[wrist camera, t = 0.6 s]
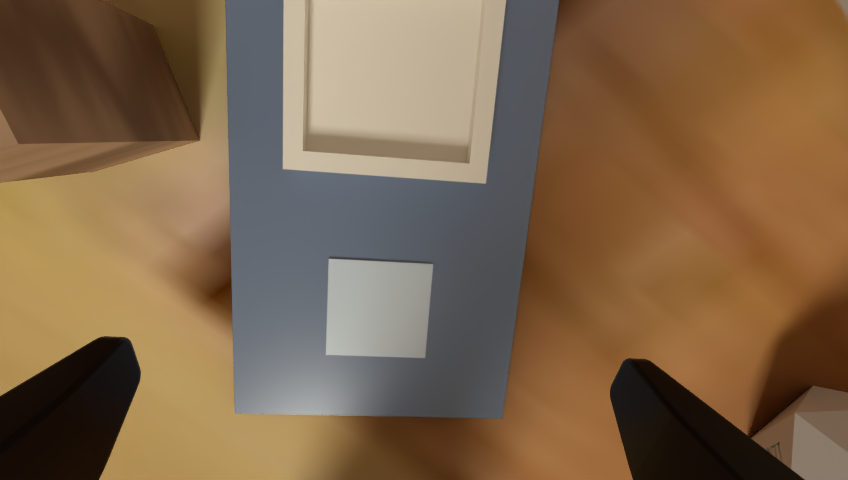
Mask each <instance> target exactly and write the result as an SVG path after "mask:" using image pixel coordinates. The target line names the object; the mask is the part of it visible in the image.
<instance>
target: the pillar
mask: <svg viewBox="0 0 848 480" xmlns="http://www.w3.org/2000/svg"><path fill="white" fill-rule="evenodd" d="M196 141H200V140H199V138H198V135H197V133H196V130H195V128H194V125H193V123H192V120H191V118H190V116H189V113H188V111H187V108H186V106H185V103H184V101H183V98H182V96H181V93H180V91H179V88H178V86H177V84H176V81H175V79H174V76H173V74H172V71H171V69H170V66H169V64H168V61H167V59H166V57H165V54H164V52H163V49H162V47H161V44H160V42H159V39H158V37H157V34H156V32H155V29H154V27H153V25H151V24H149V23H147V22H145V21H143V20H141V19H139V18H136V17H134V16H132V15H130V14H128V13H126V12H124V11H122V10H120V9H117V8H115V7H113V6H111V5H109V4H107V3H105V2H103V1H101V0H0V183H2V182H11V181H19V180H27V179H36V178H44V177H53V176H61V175H70V174H78V173H86V172H94V171H98V170H101V169H104V168H108V167H111V166H115V165H118V164H121V163H125V162H128V161H132V160H135V159H138V158H142V157H145V156H149V155H152V154H155V153H159V152H162V151H166V150H169V149H172V148H176V147H179V146H183V145H186V144H189V143H193V142H196Z"/></svg>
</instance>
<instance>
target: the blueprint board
mask: <svg viewBox="0 0 848 480" xmlns="http://www.w3.org/2000/svg"><path fill="white" fill-rule="evenodd" d="M558 5H559V0H225V8H226V52H227V96H228V139H229V183H230V226H231V270H232V313H233V357H234V400H235V413H237V414H289V415H342V416H394V417H447V418H499V419H502V418H503V410H504V403H505V396H506V388H507V381H508V373H509V366H510V359H511V351H512V344H513V337H514V329H515V322H516V314H517V307H518V300H519V292H520V285H521V278H522V270H523V263H524V256H525V248H526V241H527V233H528V226H529V219H530V211H531V204H532V197H533V189H534V182H535V175H536V167H537V160H538V152H539V145H540V138H541V130H542V123H543V116H544V108H545V101H546V93H547V86H548V79H549V71H550V64H551V57H552V49H553V42H554V35H555V27H556V20H557V12H558Z"/></svg>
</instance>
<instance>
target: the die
mask: <svg viewBox="0 0 848 480" xmlns="http://www.w3.org/2000/svg"><path fill="white" fill-rule="evenodd" d="M751 439H753V440H754V441H755V442H756V443H758V444H759V445H760V446H762V447H763V448H764V449H766V450H767V451H768V452H770V453H771V454H772V455H773V456H775V457H776V458H777V459H779V460H780V461H781V462H783V463H784V464H785V465H786V466H788V467H789V468H790V469H792V470H793V471H794V472H796V473H797V474H798V475H799V476H801V477H802V478H803V479H805V480H848V392H843V391H838V390H833V389H828V388H823V387H818V386H812V387H811V388H809V389H808V390H807V391H806V392H805V393H804V394H802V395H801V396H800V397H799V398H798V399H796V400H795V401H794V402H793V403H792V404H791V405H789V406H788V407H787V408H786V409H785V410H783V411H782V412H781V413H780V414H779V415H778V416H776V417H775V418H774V419H773V420H772V421H770V422H769V423H768V424H767V425H766V426H765V427H763V428H762V429H761V430H760V431H759V432H757V433H756V434H755V435H754V436H753V437H752V438H751Z"/></svg>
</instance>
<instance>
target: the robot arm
mask: <svg viewBox="0 0 848 480" xmlns="http://www.w3.org/2000/svg"><path fill="white" fill-rule="evenodd" d="M140 377H141V371H140V367H139V364H138V361H137V358H136V355H135V352H134V349H133V346H132V343H131V341H130V340H129V339H128V338H125V337H109V336H104V337H100V338H97V339H95V340H94V341H92V342H90V343H89V344H87V345H85V346H84V347H82V348H80V349H79V350H77V351H75V352H74V353H72V354H70V355H68V356H67V357H65V358H63V359H62V360H60V361H58V362H57V363H55V364H53V365H52V366H50V367H48V368H47V369H45V370H43V371H42V372H40V373H38V374H37V375H35V376H33V377H32V378H30V379H28V380H26V381H25V382H23V383H21V384H20V385H18V386H16V387H15V388H13V389H11V390H10V391H8V392H6V393H5V394H3V395H1V396H0V480H99V478H100V476H101V474H102V472H103V470H104V468H105V466H106V464H107V461H108V459H109V457H110V454H111V452H112V449H113V447H114V444H115V442H116V439H117V437H118V434H119V432H120V429H121V427H122V425H123V422H124V420H125V417H126V415H127V412H128V410H129V407H130V405H131V402H132V400H133V397H134V395H135V392H136V390H137V387H138V385H139V382H140ZM610 398H611V402H612V406H613V410H614V413H615V417H616V421H617V424H618V428H619V432H620V435H621V439H622V443H623V446H624V450H625V454H626V457H627V461H628V465H629V468H630V471H631V474H632V478H633V480H805V479H803V478H802V477H801V476H799V475H798V474H797V473H796V472H794V471H793V470H792V469H790V468H789V467H788V466H786V465H785V464H784V463H783V462H781V461H780V460H779V459H777V458H776V457H775V456H773V455H772V454H771V453H770V452H768V451H767V450H766V449H764V448H763V447H762V446H760V445H759V444H758V443H756V442H755V441H754V440H753V439H751V438H750V437H749V436H747V435H746V434H745V433H743V432H742V431H741V430H740V429H738V428H737V427H736V426H734V425H733V424H732V423H730V422H729V421H728V420H727V419H725V418H724V417H723V416H721V415H720V414H719V413H717V412H716V411H715V410H714V409H712V408H711V407H710V406H708V405H707V404H706V403H704V402H703V401H702V400H700V399H699V398H698V397H697V396H695V395H694V394H693V393H691V392H690V391H689V390H687V389H686V388H685V387H684V386H682V385H681V384H680V383H678V382H677V381H676V380H674V379H673V378H672V377H671V376H669V375H668V374H667V373H665V372H664V371H663V370H661V369H660V368H659V367H657V366H656V365H655V364H654V363H652V362H651V361H649V360H646V359H631V358H629V359H626V360H625V361H623V363H622V365H621V367H620V369H619V371H618V373H617V375H616V377H615V379H614V381H613V383H612V385H611V389H610Z"/></svg>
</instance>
